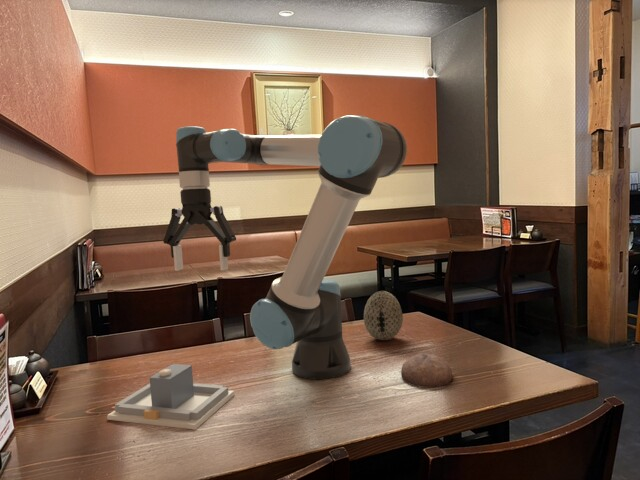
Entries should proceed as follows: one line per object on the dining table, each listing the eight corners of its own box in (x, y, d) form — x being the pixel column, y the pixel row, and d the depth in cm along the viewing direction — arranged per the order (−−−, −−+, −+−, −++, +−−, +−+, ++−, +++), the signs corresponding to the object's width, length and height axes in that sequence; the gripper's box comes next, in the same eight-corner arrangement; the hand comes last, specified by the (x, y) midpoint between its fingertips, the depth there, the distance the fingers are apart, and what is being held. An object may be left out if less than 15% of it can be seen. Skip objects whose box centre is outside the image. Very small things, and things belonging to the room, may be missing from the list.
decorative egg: (404, 334, 142) (402, 287, 141) (402, 346, 131) (400, 295, 130) (367, 333, 145) (365, 287, 144) (362, 345, 134) (359, 295, 133)
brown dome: (449, 369, 113) (448, 347, 112) (455, 389, 101) (455, 364, 101) (401, 368, 115) (400, 347, 114) (401, 388, 103) (401, 364, 102)
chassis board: (234, 394, 103) (233, 384, 103) (195, 429, 88) (194, 417, 88) (156, 388, 110) (155, 378, 109) (107, 419, 94) (106, 408, 94)
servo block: (194, 395, 102) (191, 361, 101) (172, 411, 94) (169, 375, 94) (175, 393, 103) (172, 360, 103) (152, 409, 96) (149, 373, 95)
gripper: (245, 185, 117) (250, 267, 119) (163, 191, 124) (169, 267, 126) (231, 185, 110) (237, 271, 112) (145, 191, 117) (152, 272, 119)
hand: (201, 269), depth 119 cm, fingers open, 13 cm apart
